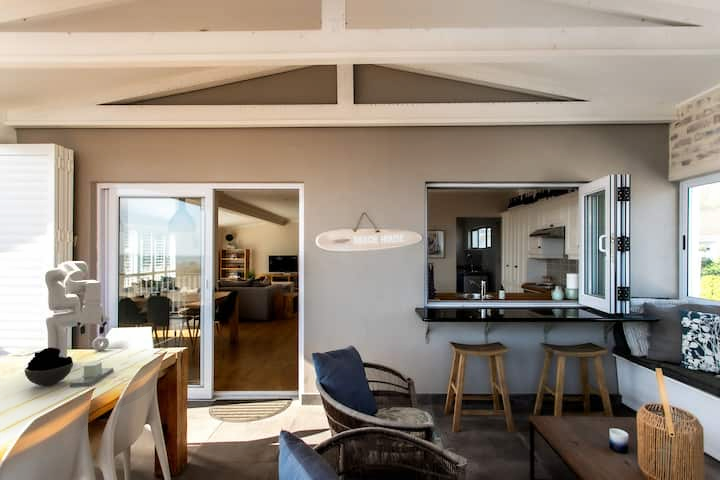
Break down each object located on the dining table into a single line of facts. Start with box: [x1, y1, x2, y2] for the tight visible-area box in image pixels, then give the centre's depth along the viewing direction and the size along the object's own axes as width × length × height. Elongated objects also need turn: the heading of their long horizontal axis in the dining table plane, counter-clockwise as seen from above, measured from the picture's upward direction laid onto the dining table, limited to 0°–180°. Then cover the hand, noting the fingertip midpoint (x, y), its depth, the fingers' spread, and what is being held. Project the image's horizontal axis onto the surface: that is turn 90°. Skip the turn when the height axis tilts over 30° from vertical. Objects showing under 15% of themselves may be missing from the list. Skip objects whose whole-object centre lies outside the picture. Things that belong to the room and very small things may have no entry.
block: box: [83, 361, 103, 377], centre depth 212 cm, size 6×6×6 cm
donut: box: [91, 336, 110, 352], centre depth 271 cm, size 10×4×10 cm, turn 117°
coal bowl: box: [24, 347, 74, 387], centre depth 204 cm, size 20×20×19 cm
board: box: [69, 367, 114, 388], centre depth 212 cm, size 10×24×2 cm, turn 8°
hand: (92, 333), depth 217 cm, fingers open, 9 cm apart
